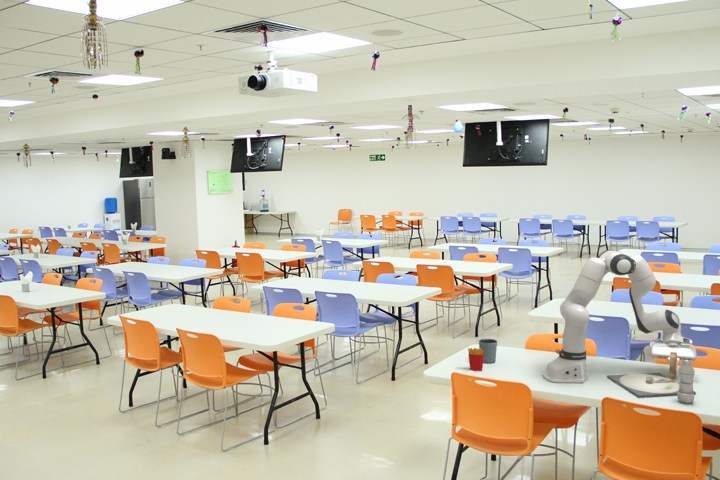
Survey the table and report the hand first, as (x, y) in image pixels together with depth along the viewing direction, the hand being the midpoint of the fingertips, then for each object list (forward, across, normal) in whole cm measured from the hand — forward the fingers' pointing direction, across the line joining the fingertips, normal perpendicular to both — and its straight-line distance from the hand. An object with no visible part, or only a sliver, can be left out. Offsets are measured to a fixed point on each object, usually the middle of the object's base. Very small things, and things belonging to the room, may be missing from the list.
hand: (674, 366), depth 280 cm
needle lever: (+8, -6, +1) cm, 10 cm away
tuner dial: (+12, -11, 0) cm, 16 cm away
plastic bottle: (+24, +2, -12) cm, 27 cm away
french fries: (+14, -96, -2) cm, 97 cm away
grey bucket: (+2, -92, +10) cm, 93 cm away
